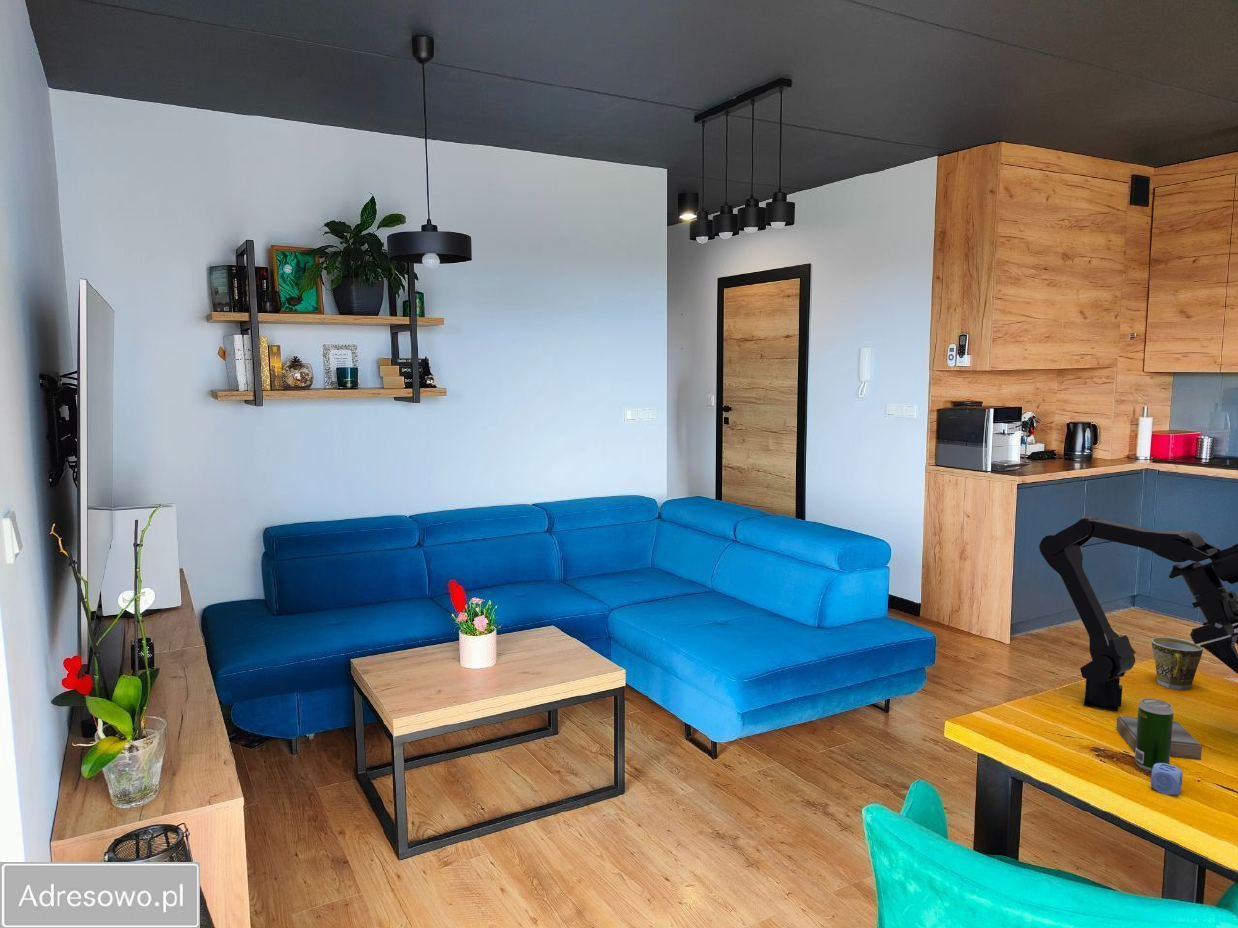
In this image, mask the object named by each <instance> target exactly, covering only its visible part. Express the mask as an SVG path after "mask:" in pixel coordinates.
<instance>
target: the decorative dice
mask: <svg viewBox="0 0 1238 928" xmlns="http://www.w3.org/2000/svg"><path fill="white" fill-rule="evenodd" d="M1182 784H1183V771H1182V770H1181V768H1179V767H1177V766H1175V765H1173V764H1170V763H1169V764H1166V763H1156V764H1154V766H1153V769H1152V772H1151V775H1150V787H1152V788H1153V790H1154V791H1156V792H1158V793H1159V794H1163V795H1168V796H1178V795H1180V794H1181V792H1182V791H1181V790H1182V786H1183V785H1182Z"/></svg>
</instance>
